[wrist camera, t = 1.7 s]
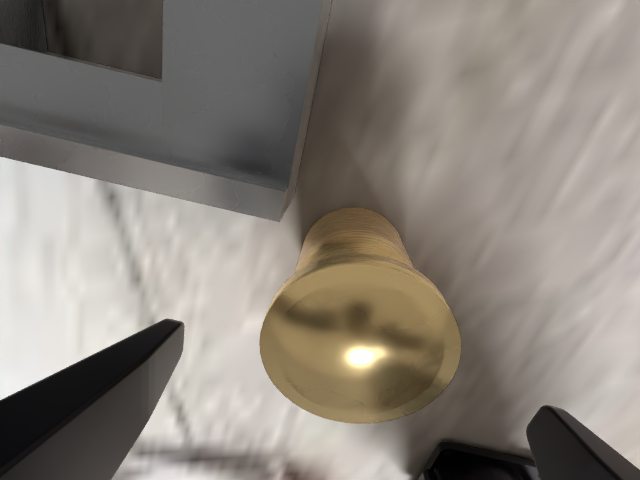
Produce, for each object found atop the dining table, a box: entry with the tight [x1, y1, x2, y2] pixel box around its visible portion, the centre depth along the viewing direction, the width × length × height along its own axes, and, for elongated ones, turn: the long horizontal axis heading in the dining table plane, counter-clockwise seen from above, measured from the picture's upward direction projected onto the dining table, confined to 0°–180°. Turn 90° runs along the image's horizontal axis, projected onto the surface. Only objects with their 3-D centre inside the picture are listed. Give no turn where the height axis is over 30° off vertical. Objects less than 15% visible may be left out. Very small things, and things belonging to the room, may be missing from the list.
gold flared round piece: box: [260, 207, 461, 424], centre depth 11 cm, size 5×5×6 cm
